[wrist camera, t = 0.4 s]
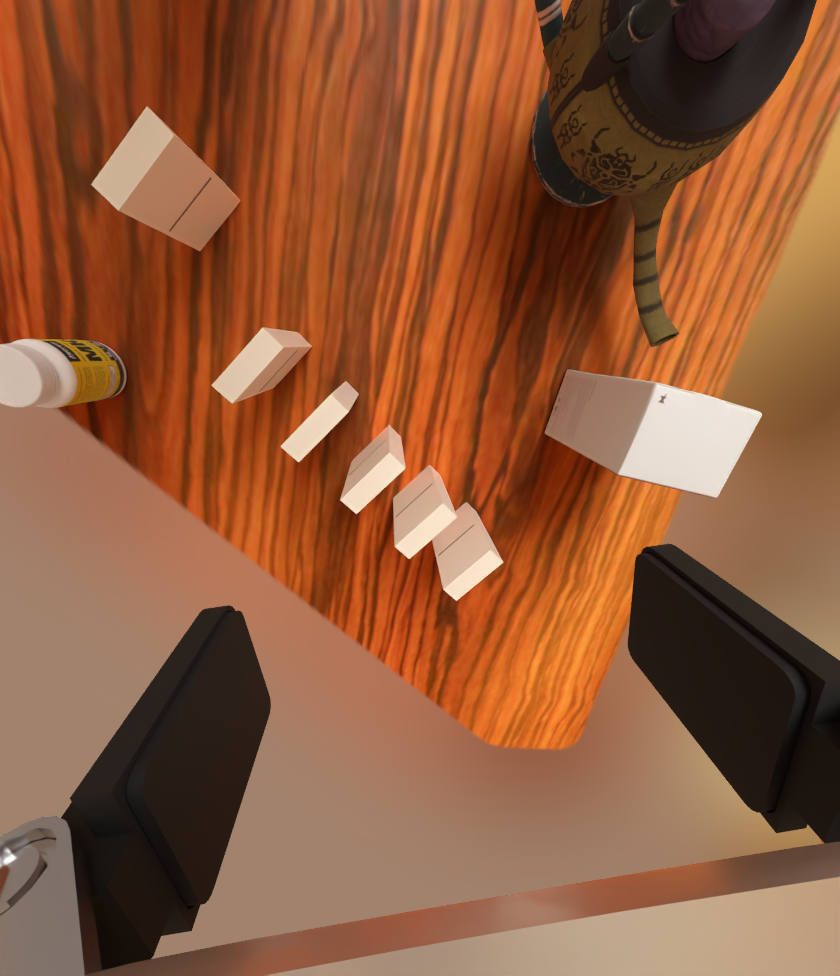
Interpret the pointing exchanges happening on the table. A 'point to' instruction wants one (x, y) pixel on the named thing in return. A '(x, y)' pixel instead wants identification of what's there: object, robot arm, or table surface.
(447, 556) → the domino
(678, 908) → the robot arm
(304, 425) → the domino
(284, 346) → the domino
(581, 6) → the teapot
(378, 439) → the domino
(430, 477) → the domino
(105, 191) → the domino
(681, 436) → the small box
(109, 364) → the supplement bottle
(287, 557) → the table surface
